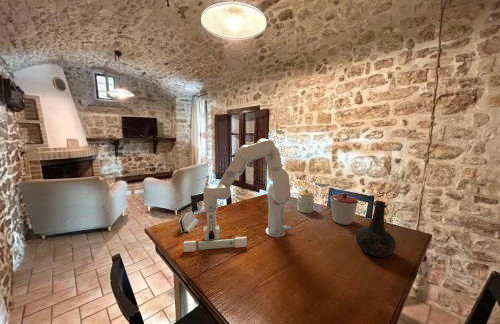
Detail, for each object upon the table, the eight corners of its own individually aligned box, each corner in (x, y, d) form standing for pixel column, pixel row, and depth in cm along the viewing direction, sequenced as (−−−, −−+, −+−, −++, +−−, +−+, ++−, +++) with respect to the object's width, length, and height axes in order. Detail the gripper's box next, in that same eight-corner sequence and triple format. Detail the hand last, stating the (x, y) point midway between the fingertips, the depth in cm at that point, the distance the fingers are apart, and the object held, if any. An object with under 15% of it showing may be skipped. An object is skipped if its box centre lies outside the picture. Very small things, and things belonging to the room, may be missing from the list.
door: (196, 251, 106) (195, 242, 105) (196, 249, 108) (196, 240, 107) (234, 248, 109) (234, 239, 109) (234, 246, 111) (234, 237, 111)
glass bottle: (347, 246, 113) (351, 197, 109) (370, 240, 119) (375, 194, 115) (377, 265, 97) (383, 209, 92) (402, 257, 103) (409, 205, 99)
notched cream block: (246, 244, 113) (246, 236, 112) (246, 246, 111) (246, 238, 110) (184, 250, 107) (184, 241, 106) (184, 252, 105) (183, 243, 105)
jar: (294, 207, 170) (295, 187, 168) (309, 207, 172) (310, 186, 169) (300, 213, 157) (301, 191, 155) (316, 213, 159) (317, 191, 156)
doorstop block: (219, 234, 123) (219, 225, 122) (219, 238, 118) (219, 229, 117) (204, 236, 121) (203, 226, 120) (203, 240, 116) (203, 230, 115)
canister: (361, 223, 142) (364, 194, 139) (347, 230, 132) (350, 199, 128) (338, 214, 156) (340, 188, 153) (323, 220, 146) (325, 191, 143)
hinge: (188, 233, 125) (183, 218, 124) (182, 235, 126) (176, 220, 125) (198, 221, 141) (193, 208, 140) (192, 223, 142) (187, 210, 141)
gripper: (217, 212, 109) (218, 243, 112) (217, 201, 125) (218, 229, 128) (203, 213, 108) (204, 245, 110) (204, 202, 124) (205, 230, 127)
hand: (211, 236), depth 119 cm, fingers closed on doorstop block, 5 cm apart
